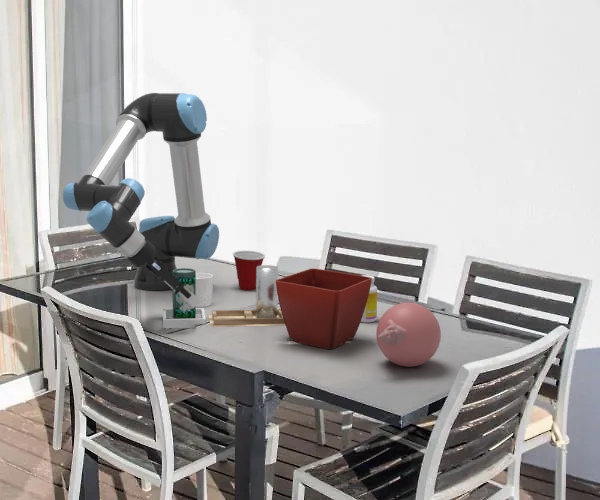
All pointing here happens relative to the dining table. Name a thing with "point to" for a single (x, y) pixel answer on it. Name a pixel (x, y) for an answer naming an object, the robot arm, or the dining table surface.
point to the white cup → (204, 289)
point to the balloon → (408, 334)
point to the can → (179, 303)
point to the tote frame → (182, 320)
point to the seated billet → (266, 291)
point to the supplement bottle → (370, 304)
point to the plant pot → (322, 306)
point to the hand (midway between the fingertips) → (190, 298)
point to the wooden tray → (242, 318)
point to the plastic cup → (247, 268)
